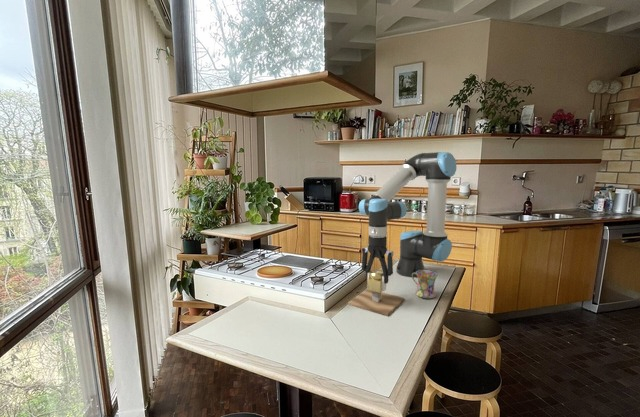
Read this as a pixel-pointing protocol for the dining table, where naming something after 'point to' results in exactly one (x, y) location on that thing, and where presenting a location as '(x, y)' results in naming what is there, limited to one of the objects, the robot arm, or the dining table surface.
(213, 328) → the dining table surface
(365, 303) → the plate
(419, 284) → the mug
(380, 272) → the knob
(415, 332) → the dining table surface
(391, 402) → the dining table surface
